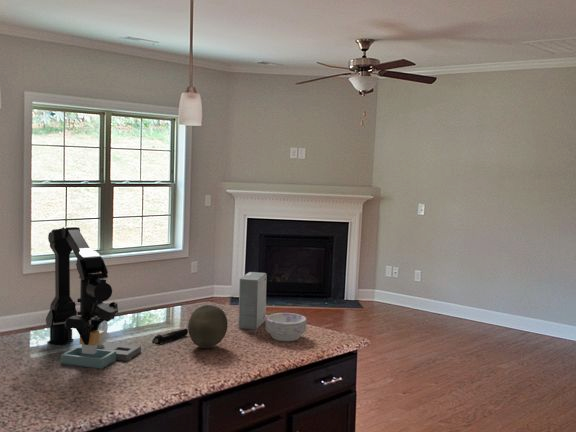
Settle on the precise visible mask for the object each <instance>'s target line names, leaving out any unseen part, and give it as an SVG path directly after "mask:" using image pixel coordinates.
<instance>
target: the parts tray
mask: <svg viewBox="0 0 576 432" xmlns="http://www.w3.org/2000/svg"><path fill="white" fill-rule="evenodd" d="M60 355H61V356H60V358H61V359H60V361H61V362H60V365H65V366H66V365H67V366H73V367H82V368H90V369H97V368H99V369H98V370H103V369H105V368H106V367H108V366H110V365H111V364H113V363H114V362H116V361H117V360H116V351H111V350H102V349H97V353H95V354H86V353H82V347H81V346H75V347H74V348H71V349H69V350H68V351H65V352H64V353H62V354H60ZM115 360H116V361H115ZM110 363H111V364H110ZM107 365H108V366H107ZM105 366H106V367H105ZM104 367H105V368H104ZM102 368H103V369H102Z"/></svg>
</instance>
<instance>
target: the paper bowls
mask: <svg viewBox="0 0 576 432" xmlns="http://www.w3.org/2000/svg"><path fill="white" fill-rule="evenodd" d="M265 331H266V332H267V333H269V334H270V335H271V338H273V340H275V341H279V342H280V341H281V342H293V341H297V340H299V339H300V337H301V335H303V334H305V333H306V331H307V317H306V316H304V315H301V314H299V313H291V312H277V313H271V314H269V315H266V320H265Z"/></svg>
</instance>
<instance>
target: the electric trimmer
mask: <svg viewBox="0 0 576 432" xmlns="http://www.w3.org/2000/svg"><path fill="white" fill-rule="evenodd" d="M187 335H189V331H188V328H183V329H178V330H175V331H171V332H167V333H164V334H157V335H155V336H154V337H153V339H152V340H151V343H152V344H154V343H155V344H154V345H157V344H158V345H161V344H163V343H166V342H168V341H173V340H179V339H180V338H182V337H185V336H187ZM162 342H163V343H162Z"/></svg>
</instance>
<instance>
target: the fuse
mask: <svg viewBox="0 0 576 432" xmlns="http://www.w3.org/2000/svg"><path fill="white" fill-rule="evenodd" d="M97 331H99V343H98V344H97V348H100V347H102V344H103V343H105V342H106V340H105V336H106V333H105V332H106V331H105V330H101V329H98V330H97Z"/></svg>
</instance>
